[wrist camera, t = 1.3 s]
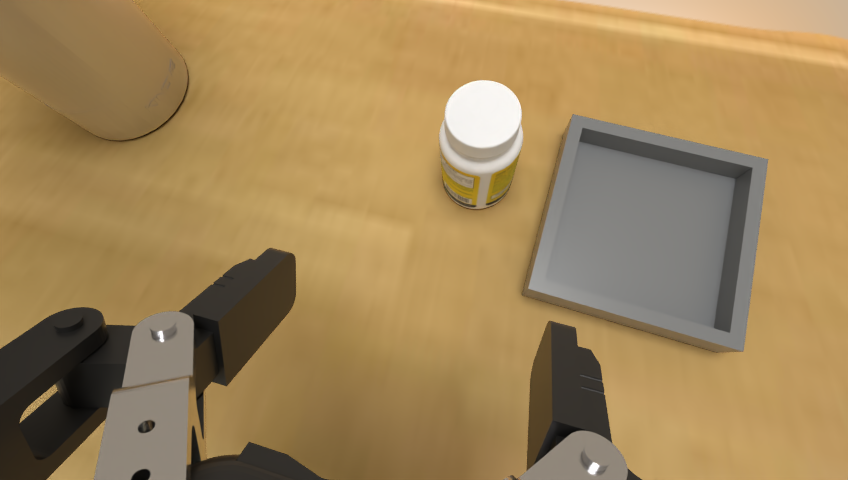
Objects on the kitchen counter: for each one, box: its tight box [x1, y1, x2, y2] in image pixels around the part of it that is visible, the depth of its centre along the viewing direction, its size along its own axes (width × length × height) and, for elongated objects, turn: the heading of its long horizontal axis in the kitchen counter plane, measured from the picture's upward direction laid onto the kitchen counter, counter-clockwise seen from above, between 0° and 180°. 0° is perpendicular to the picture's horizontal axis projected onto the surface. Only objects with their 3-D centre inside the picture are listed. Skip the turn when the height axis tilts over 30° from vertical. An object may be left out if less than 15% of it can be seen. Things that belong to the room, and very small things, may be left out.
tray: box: [522, 114, 768, 353], centre depth 28 cm, size 12×12×2 cm
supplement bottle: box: [439, 80, 523, 209], centre depth 27 cm, size 5×5×8 cm
